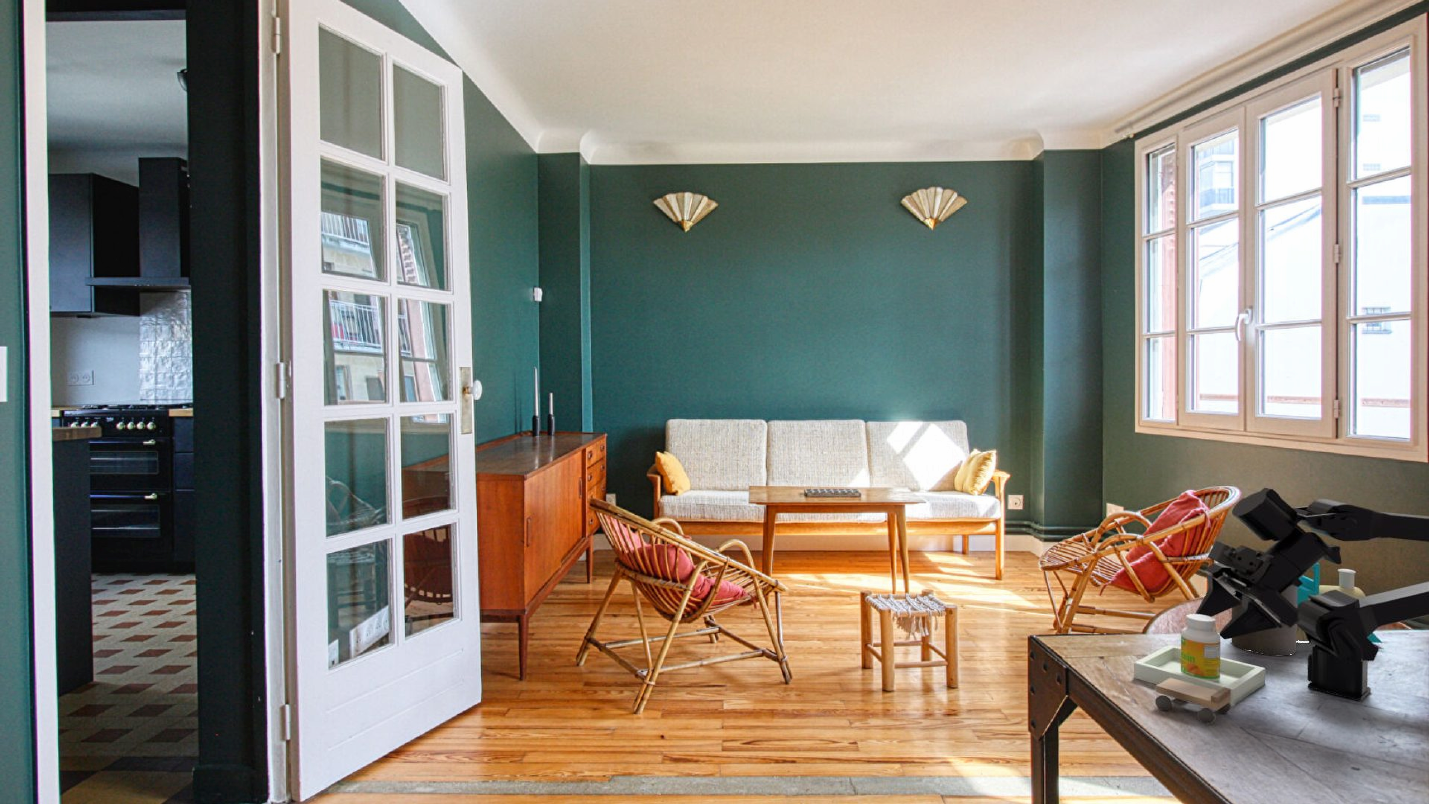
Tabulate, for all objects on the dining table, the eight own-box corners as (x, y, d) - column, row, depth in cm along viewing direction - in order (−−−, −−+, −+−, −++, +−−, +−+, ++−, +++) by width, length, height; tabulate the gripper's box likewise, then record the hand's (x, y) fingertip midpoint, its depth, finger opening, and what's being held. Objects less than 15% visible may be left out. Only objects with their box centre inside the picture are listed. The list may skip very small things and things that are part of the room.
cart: (1232, 714, 109) (1232, 687, 109) (1215, 726, 105) (1215, 699, 105) (1172, 696, 115) (1172, 671, 115) (1153, 707, 111) (1153, 681, 111)
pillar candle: (1232, 650, 135) (1234, 568, 135) (1229, 634, 144) (1231, 557, 143) (1300, 661, 130) (1302, 575, 130) (1292, 644, 139) (1295, 564, 138)
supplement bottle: (1172, 671, 124) (1173, 612, 124) (1203, 670, 124) (1203, 612, 124) (1196, 684, 118) (1196, 622, 118) (1228, 682, 119) (1228, 622, 119)
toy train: (1385, 649, 136) (1386, 567, 136) (1281, 643, 139) (1282, 563, 139) (1358, 635, 144) (1359, 557, 143) (1260, 629, 147) (1261, 554, 147)
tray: (1265, 683, 120) (1265, 668, 120) (1232, 706, 112) (1232, 689, 111) (1170, 658, 131) (1170, 644, 131) (1133, 677, 123) (1134, 662, 123)
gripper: (1217, 515, 129) (1148, 577, 131) (1275, 536, 110) (1193, 607, 113) (1269, 562, 127) (1198, 624, 130) (1337, 591, 109) (1252, 662, 111)
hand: (1208, 627), depth 121 cm, fingers open, 9 cm apart
